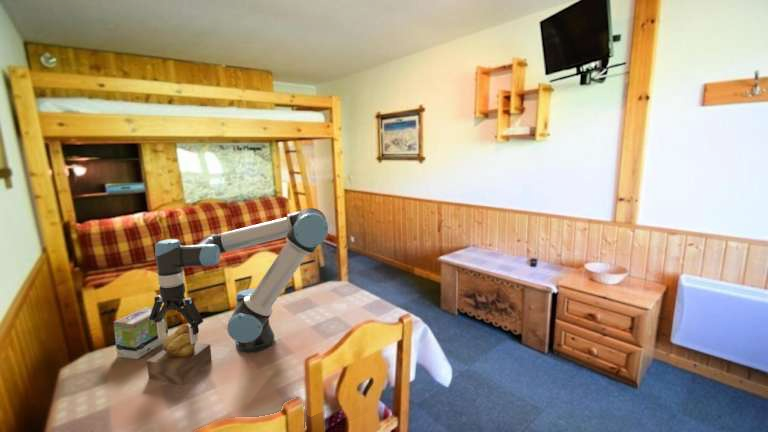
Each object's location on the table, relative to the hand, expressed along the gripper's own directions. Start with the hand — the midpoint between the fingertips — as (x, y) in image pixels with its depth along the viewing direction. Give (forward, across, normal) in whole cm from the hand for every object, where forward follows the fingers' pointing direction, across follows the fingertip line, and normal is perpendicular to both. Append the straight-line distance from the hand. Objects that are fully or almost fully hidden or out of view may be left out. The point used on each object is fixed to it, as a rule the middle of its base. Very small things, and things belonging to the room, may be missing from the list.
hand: (178, 340), depth 123 cm
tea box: (+12, +26, -9) cm, 30 cm away
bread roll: (+5, 0, 0) cm, 5 cm away
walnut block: (+12, 0, 0) cm, 12 cm away
